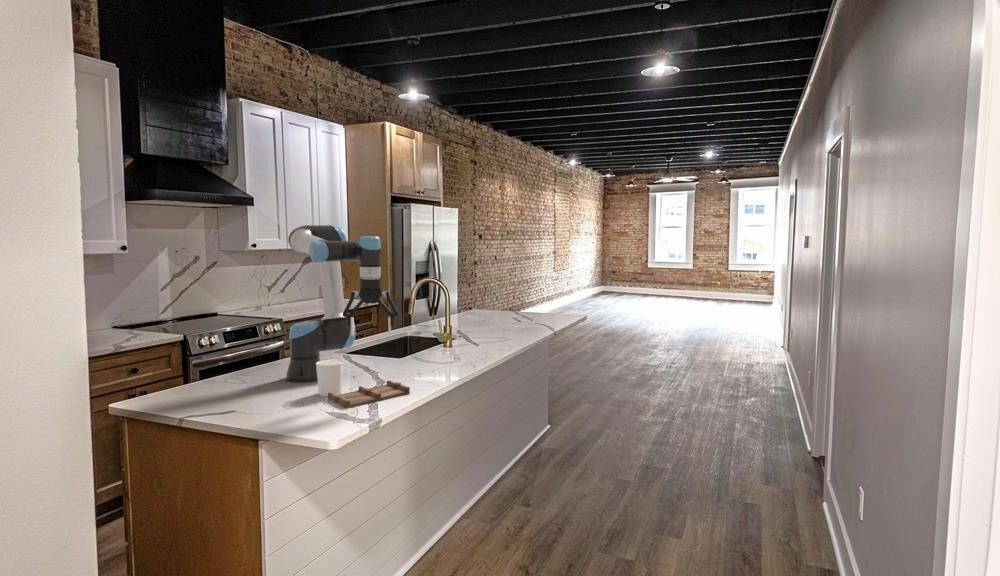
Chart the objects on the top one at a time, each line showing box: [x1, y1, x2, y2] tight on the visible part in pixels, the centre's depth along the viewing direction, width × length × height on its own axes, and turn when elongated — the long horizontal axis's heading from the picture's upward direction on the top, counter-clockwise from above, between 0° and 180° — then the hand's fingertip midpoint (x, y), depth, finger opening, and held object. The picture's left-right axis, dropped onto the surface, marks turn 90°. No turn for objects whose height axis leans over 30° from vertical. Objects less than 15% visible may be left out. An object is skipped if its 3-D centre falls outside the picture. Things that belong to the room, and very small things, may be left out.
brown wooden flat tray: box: [327, 380, 411, 409], centre depth 210 cm, size 14×27×3 cm, turn 134°
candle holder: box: [316, 359, 344, 398], centre depth 214 cm, size 10×10×12 cm
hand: (371, 335), depth 211 cm, fingers open, 13 cm apart
